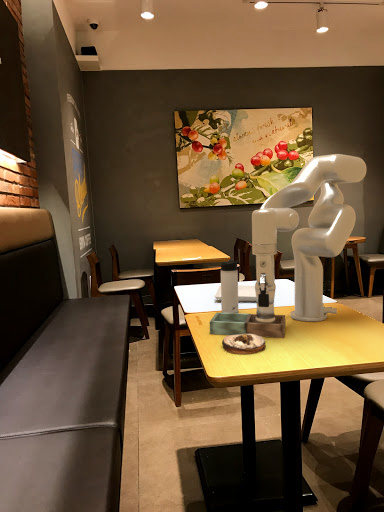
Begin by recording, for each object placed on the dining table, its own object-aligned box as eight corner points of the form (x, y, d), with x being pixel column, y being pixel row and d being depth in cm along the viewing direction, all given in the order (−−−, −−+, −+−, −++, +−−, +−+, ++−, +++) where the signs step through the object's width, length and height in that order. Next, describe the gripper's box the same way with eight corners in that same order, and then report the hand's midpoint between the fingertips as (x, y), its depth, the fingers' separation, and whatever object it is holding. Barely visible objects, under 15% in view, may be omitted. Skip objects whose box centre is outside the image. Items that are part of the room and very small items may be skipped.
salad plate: (266, 304, 162) (266, 295, 162) (214, 303, 166) (214, 295, 165) (265, 292, 183) (265, 285, 183) (219, 292, 186) (219, 285, 186)
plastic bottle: (261, 326, 132) (260, 267, 129) (279, 330, 127) (279, 268, 125) (251, 332, 127) (250, 270, 124) (270, 335, 122) (269, 272, 120)
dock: (285, 326, 131) (285, 315, 130) (283, 337, 120) (283, 325, 120) (216, 323, 137) (216, 312, 136) (209, 333, 126) (209, 321, 126)
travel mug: (238, 316, 145) (237, 262, 142) (220, 315, 146) (219, 262, 144) (240, 311, 151) (239, 259, 148) (222, 311, 152) (221, 259, 150)
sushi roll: (217, 339, 122) (216, 326, 122) (266, 338, 121) (266, 325, 121) (218, 357, 108) (217, 343, 107) (273, 357, 107) (273, 342, 106)
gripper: (275, 252, 114) (275, 310, 117) (278, 246, 131) (278, 296, 133) (248, 252, 116) (249, 309, 119) (255, 246, 133) (256, 296, 135)
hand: (265, 302), depth 126 cm, fingers open, 9 cm apart
